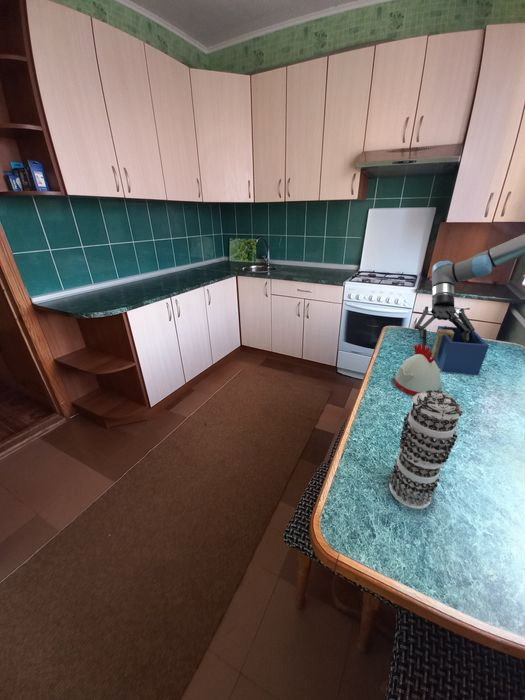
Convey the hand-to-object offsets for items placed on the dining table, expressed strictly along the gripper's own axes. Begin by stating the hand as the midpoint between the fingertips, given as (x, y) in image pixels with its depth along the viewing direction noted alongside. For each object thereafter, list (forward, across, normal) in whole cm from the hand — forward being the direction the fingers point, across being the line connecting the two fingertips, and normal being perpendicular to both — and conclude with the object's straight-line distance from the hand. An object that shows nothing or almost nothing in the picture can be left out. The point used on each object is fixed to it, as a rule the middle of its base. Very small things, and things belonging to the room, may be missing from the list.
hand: (443, 347), depth 110 cm
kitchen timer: (+18, +12, +8) cm, 23 cm away
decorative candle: (+50, +22, +39) cm, 67 cm away
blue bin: (+3, -6, -7) cm, 9 cm away
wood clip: (+2, 0, -5) cm, 6 cm away
